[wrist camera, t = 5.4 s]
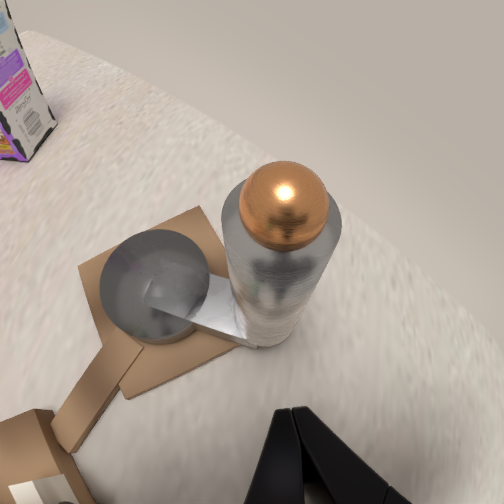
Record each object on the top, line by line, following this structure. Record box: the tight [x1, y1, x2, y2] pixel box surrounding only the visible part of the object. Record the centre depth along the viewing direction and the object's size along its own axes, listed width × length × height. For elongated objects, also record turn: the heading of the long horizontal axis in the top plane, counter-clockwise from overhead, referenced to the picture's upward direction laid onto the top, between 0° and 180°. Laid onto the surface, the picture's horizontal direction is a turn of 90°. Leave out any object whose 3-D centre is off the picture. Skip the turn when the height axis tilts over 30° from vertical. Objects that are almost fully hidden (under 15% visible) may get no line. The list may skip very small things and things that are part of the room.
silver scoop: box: [99, 161, 342, 349], centre depth 12 cm, size 10×6×11 cm, turn 72°
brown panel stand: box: [0, 206, 241, 504], centre depth 12 cm, size 22×22×5 cm
